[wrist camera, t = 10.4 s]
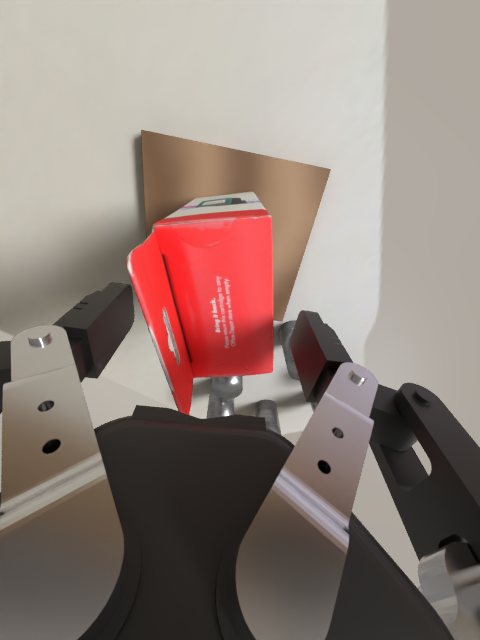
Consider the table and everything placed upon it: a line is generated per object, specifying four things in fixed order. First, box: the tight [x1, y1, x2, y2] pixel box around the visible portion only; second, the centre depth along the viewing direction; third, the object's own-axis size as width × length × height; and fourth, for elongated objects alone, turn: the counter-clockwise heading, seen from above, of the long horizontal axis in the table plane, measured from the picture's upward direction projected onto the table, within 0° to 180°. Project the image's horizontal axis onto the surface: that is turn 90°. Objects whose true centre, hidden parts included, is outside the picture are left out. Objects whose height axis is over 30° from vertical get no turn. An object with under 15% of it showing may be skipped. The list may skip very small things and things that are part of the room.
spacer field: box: [207, 321, 318, 435], centre depth 29 cm, size 17×17×6 cm
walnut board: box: [141, 130, 331, 321], centre depth 21 cm, size 14×14×1 cm
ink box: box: [126, 192, 273, 415], centre depth 15 cm, size 8×5×15 cm, turn 5°
